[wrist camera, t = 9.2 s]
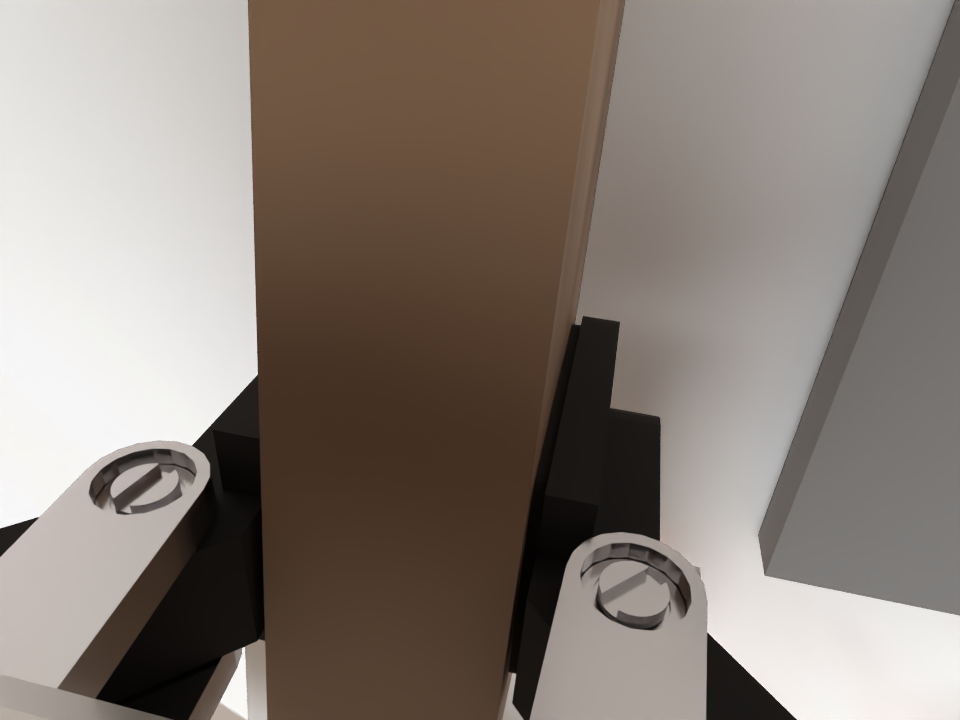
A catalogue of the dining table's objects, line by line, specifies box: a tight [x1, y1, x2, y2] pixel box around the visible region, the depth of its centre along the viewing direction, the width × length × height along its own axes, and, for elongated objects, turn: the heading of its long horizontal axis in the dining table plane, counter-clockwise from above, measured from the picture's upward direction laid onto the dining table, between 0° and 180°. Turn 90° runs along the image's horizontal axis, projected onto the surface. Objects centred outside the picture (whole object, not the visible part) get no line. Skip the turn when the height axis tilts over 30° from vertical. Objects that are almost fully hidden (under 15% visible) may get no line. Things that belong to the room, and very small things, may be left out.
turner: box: [245, 0, 701, 720], centre depth 10 cm, size 18×8×5 cm, turn 176°
